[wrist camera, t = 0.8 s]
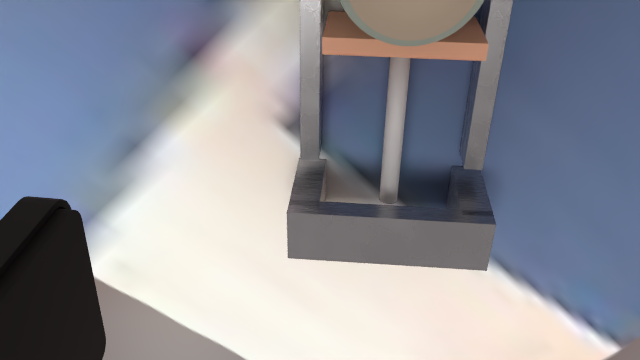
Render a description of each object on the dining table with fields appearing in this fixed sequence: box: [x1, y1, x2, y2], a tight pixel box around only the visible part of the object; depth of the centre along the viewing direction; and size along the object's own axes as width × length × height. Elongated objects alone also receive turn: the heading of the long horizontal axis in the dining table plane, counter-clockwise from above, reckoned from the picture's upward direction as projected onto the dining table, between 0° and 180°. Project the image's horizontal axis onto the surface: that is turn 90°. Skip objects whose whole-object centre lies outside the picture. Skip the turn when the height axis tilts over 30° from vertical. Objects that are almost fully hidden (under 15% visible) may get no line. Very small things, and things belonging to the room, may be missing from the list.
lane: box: [287, 0, 513, 271], centre depth 29 cm, size 20×11×6 cm, turn 179°
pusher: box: [322, 11, 489, 204], centre depth 31 cm, size 10×7×4 cm
